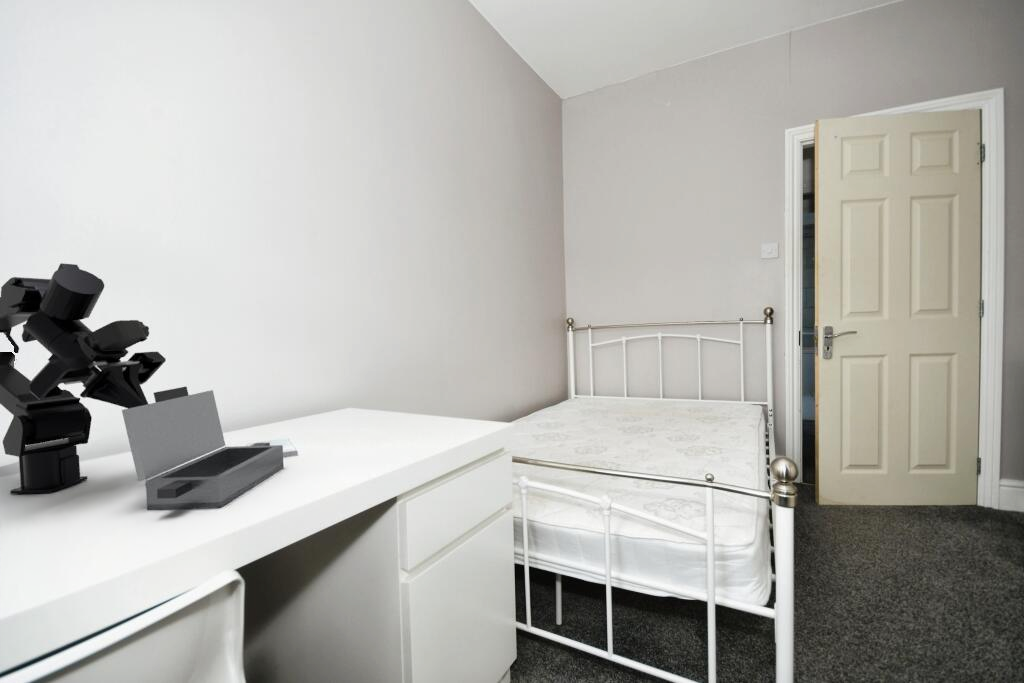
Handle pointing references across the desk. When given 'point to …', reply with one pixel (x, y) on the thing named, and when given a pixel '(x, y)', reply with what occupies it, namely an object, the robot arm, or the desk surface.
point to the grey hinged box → (214, 477)
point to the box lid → (172, 430)
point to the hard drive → (287, 446)
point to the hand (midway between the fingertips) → (145, 409)
